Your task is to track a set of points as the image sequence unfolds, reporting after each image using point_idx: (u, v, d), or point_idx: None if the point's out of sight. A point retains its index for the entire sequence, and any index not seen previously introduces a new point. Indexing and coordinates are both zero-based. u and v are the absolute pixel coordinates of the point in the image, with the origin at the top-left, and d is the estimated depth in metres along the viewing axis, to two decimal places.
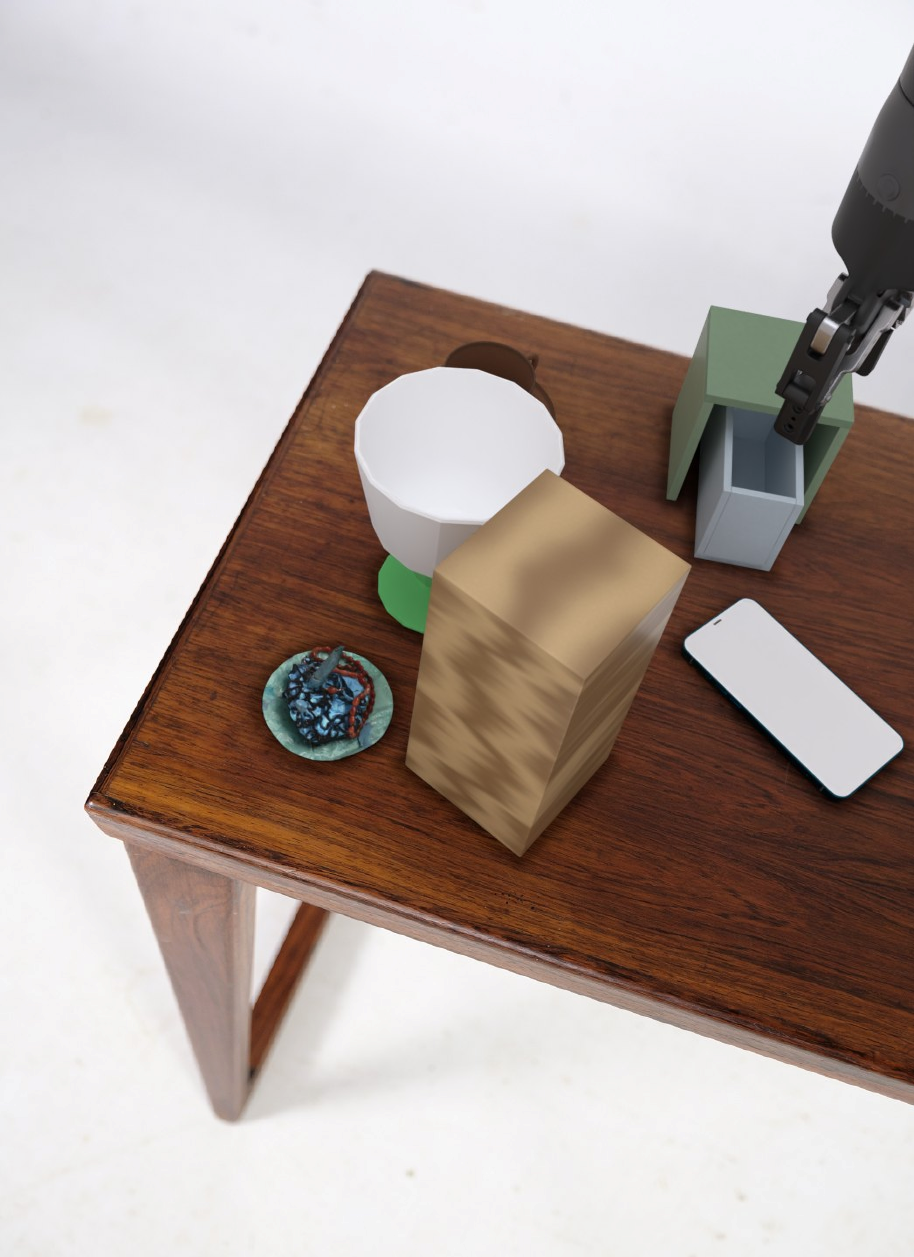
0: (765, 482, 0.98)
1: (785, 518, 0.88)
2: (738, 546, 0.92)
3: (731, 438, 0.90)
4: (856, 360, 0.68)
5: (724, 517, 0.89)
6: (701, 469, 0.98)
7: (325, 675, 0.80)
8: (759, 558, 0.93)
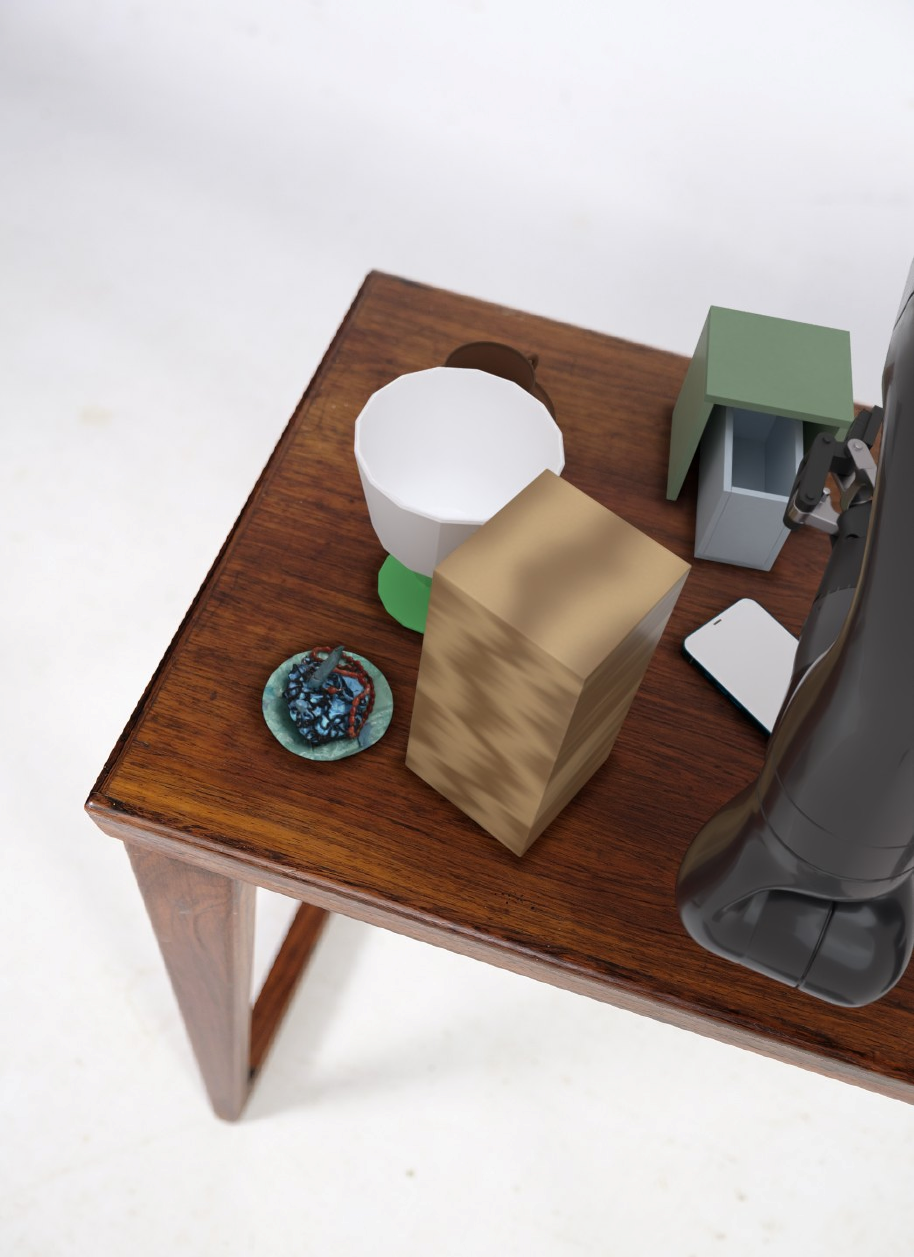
0: (765, 482, 0.98)
1: None
2: (738, 546, 0.92)
3: (731, 438, 0.90)
4: None
5: (724, 517, 0.89)
6: (701, 469, 0.98)
7: (325, 675, 0.80)
8: (759, 558, 0.93)
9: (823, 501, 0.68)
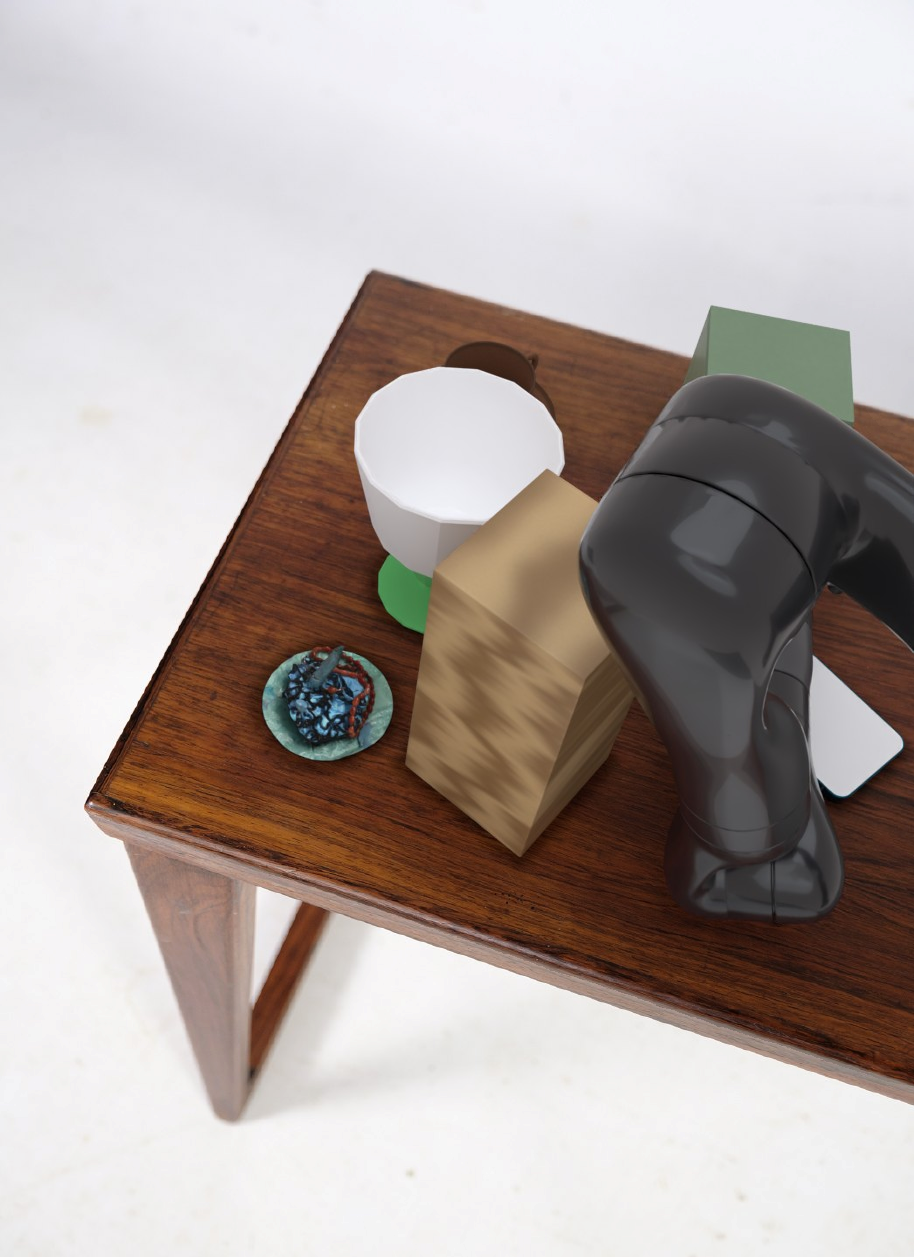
0: None
1: None
2: None
3: None
4: None
5: None
6: None
7: (325, 675, 0.80)
8: None
9: None
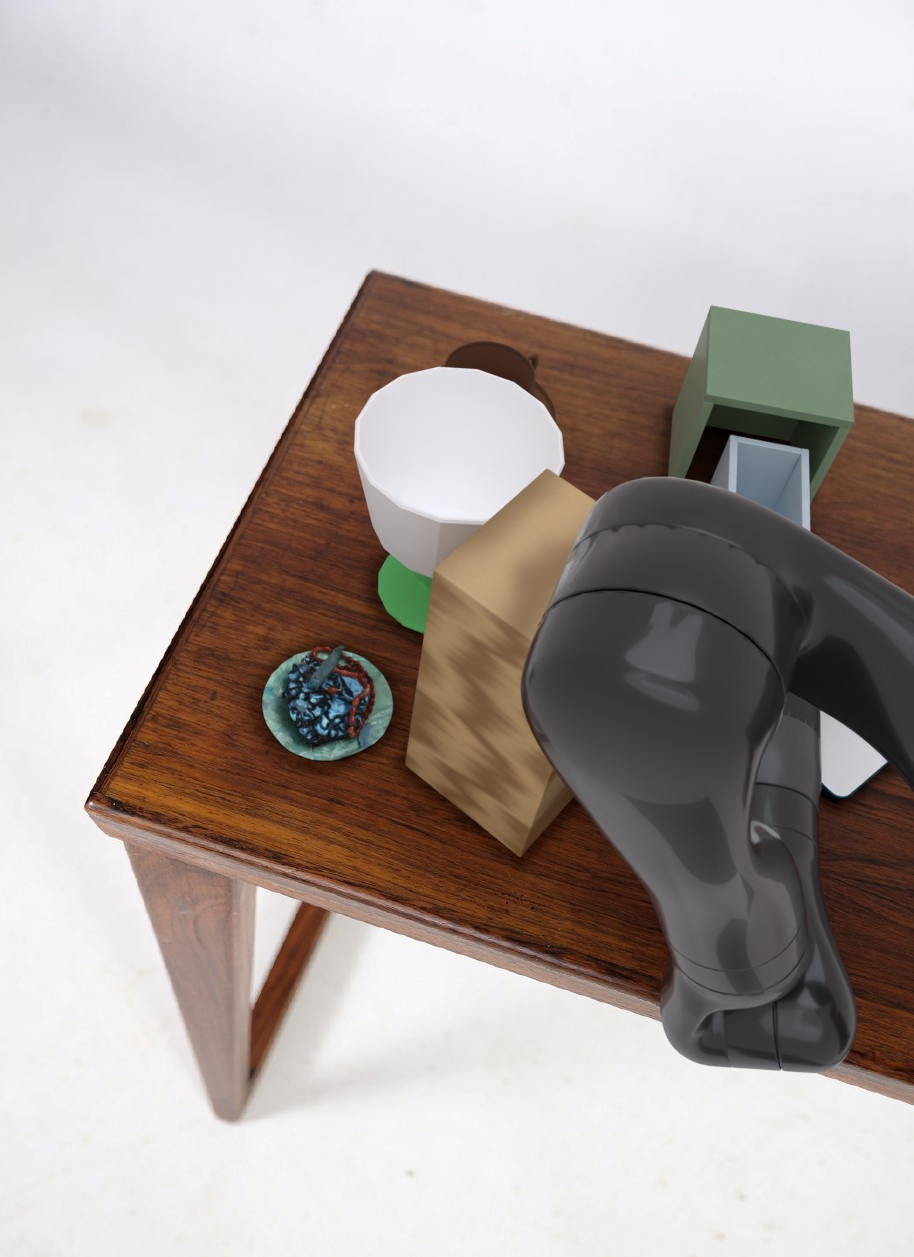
0: None
1: None
2: None
3: None
4: None
5: None
6: None
7: (325, 675, 0.80)
8: None
9: None
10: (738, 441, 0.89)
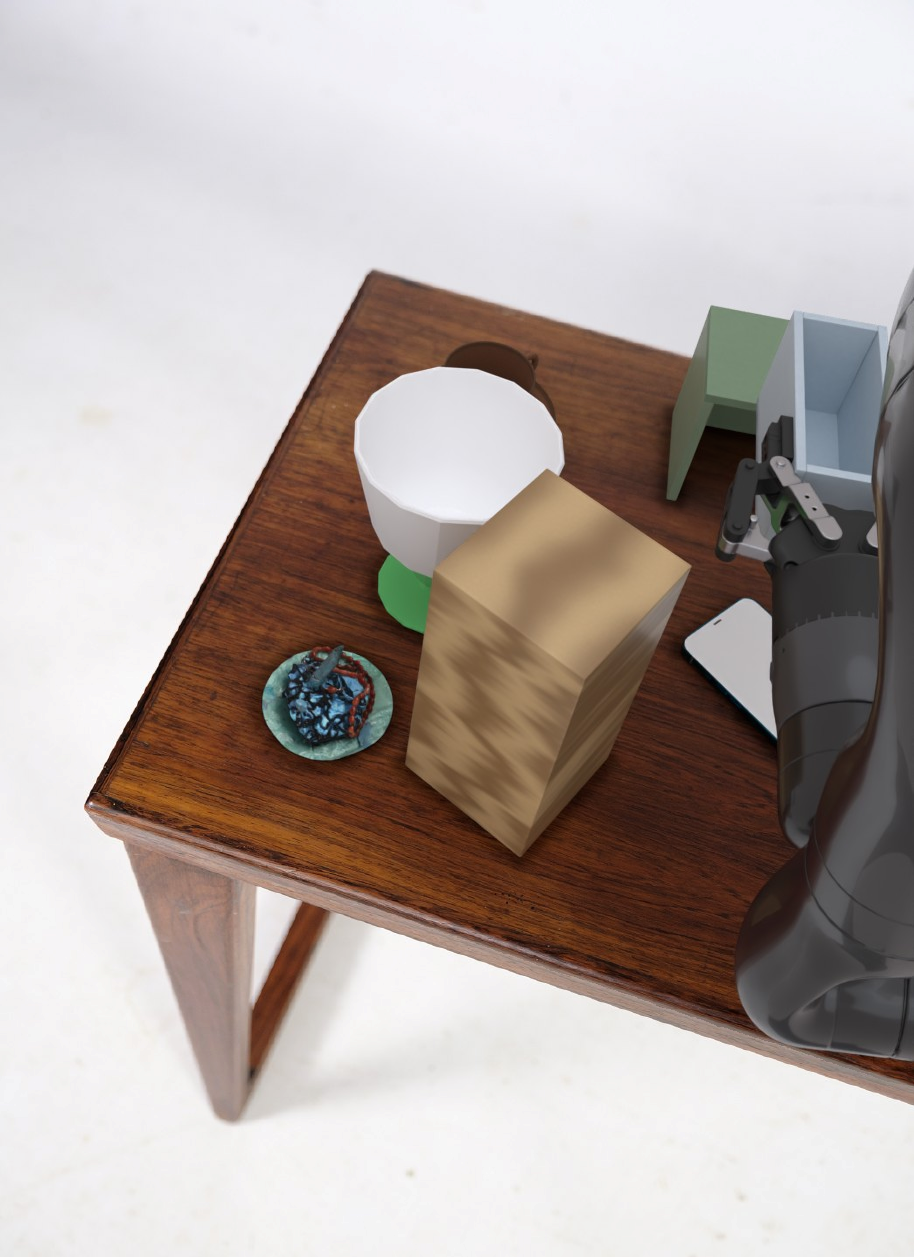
0: (840, 463, 0.78)
1: None
2: None
3: (803, 404, 0.71)
4: None
5: None
6: (760, 447, 0.78)
7: (325, 675, 0.80)
8: None
9: (752, 529, 0.66)
10: (804, 317, 0.75)
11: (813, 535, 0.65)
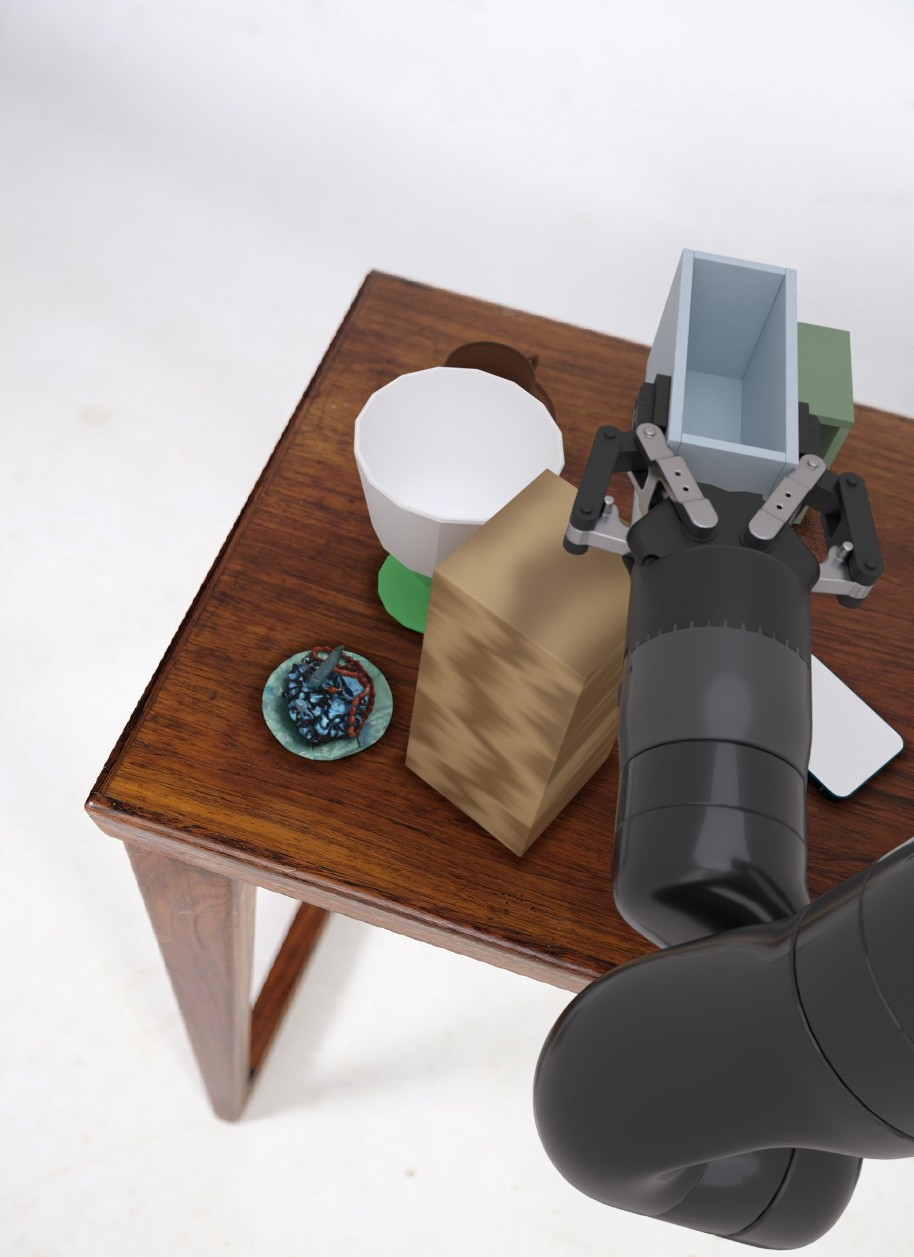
0: (741, 437, 0.65)
1: (769, 486, 0.55)
2: None
3: (684, 360, 0.57)
4: (803, 498, 0.53)
5: None
6: None
7: (325, 675, 0.80)
8: None
9: (608, 513, 0.52)
10: (695, 256, 0.62)
11: (683, 522, 0.51)
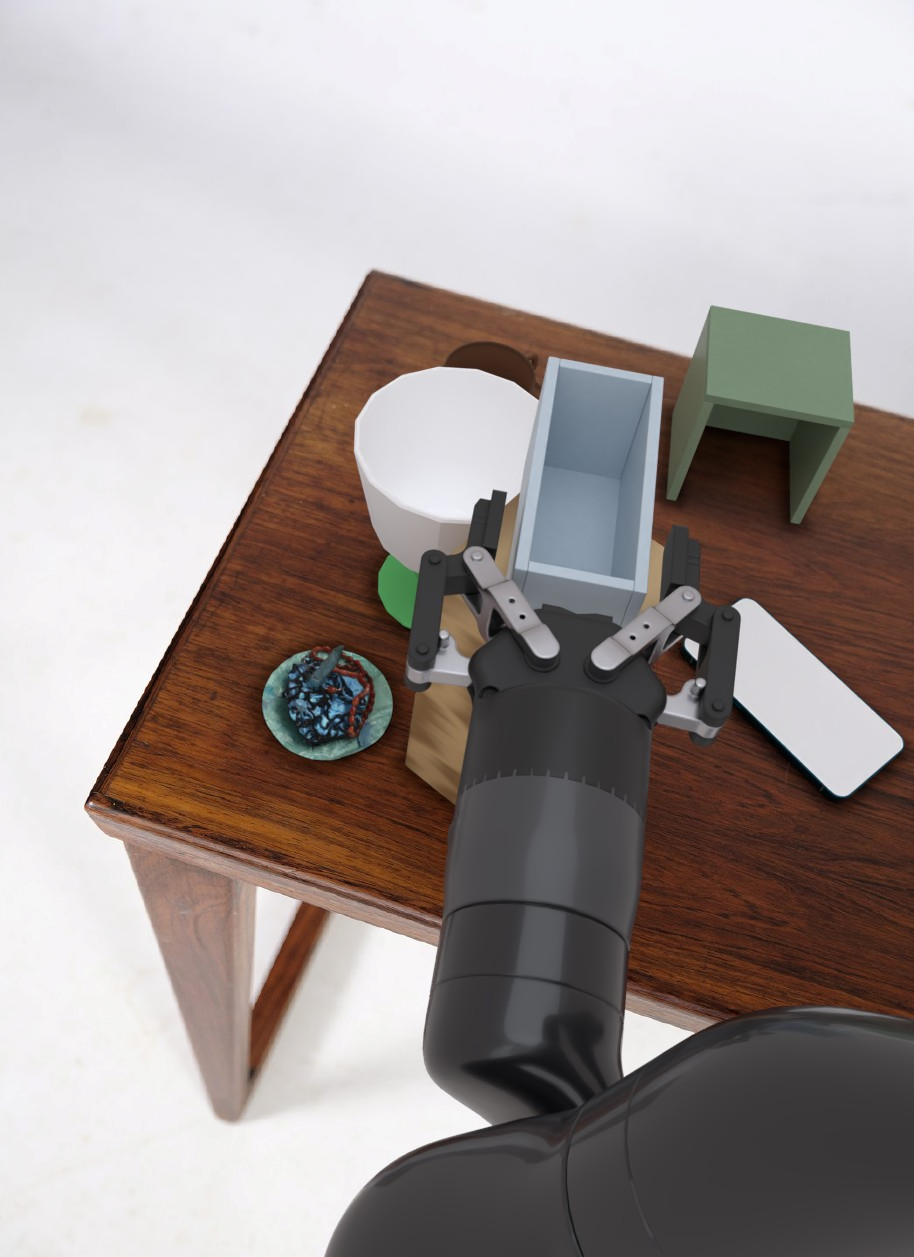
0: (614, 542, 0.64)
1: (620, 611, 0.54)
2: None
3: (538, 480, 0.56)
4: (662, 631, 0.51)
5: None
6: (515, 523, 0.64)
7: (325, 675, 0.80)
8: None
9: (445, 647, 0.51)
10: (560, 365, 0.61)
11: (526, 649, 0.50)
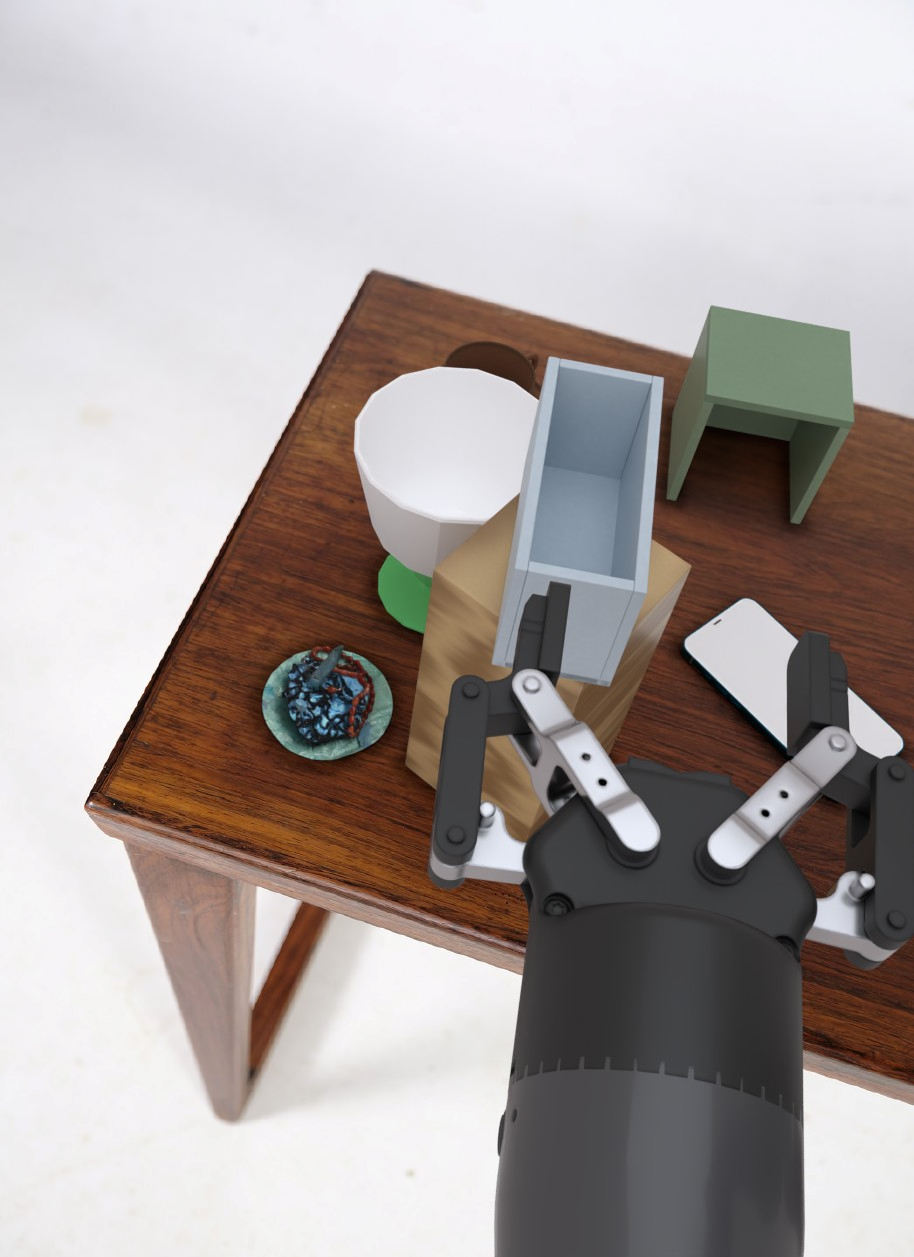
0: (614, 542, 0.64)
1: (620, 611, 0.54)
2: None
3: (538, 480, 0.56)
4: (807, 801, 0.35)
5: None
6: (515, 523, 0.64)
7: (325, 675, 0.80)
8: (591, 668, 0.59)
9: (489, 825, 0.34)
10: (560, 365, 0.61)
11: (609, 832, 0.34)
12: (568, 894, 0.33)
